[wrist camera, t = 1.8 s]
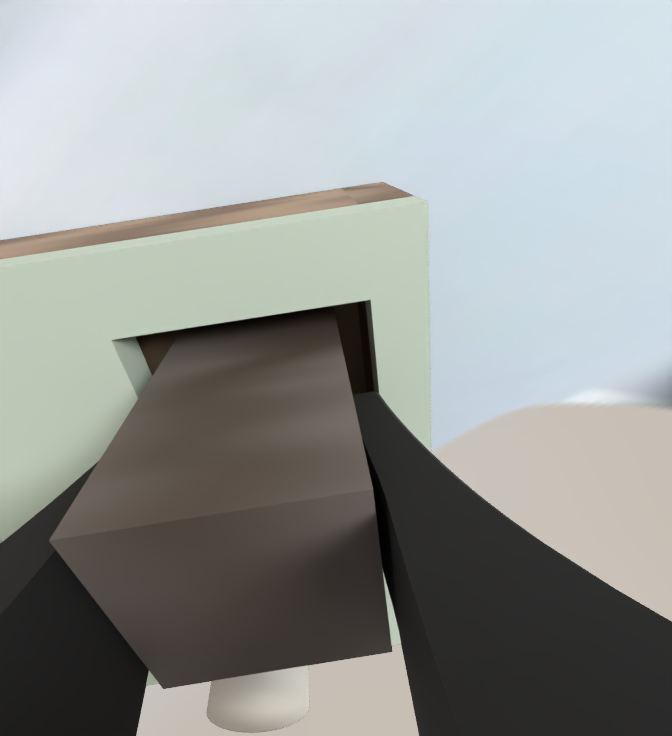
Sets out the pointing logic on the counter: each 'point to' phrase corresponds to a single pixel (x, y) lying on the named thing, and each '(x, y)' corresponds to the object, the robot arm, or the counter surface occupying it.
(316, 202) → the brown box
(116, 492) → the block
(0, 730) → the robot arm
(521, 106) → the counter surface
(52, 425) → the lid
